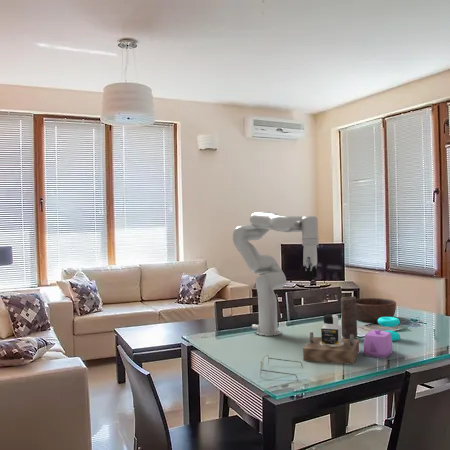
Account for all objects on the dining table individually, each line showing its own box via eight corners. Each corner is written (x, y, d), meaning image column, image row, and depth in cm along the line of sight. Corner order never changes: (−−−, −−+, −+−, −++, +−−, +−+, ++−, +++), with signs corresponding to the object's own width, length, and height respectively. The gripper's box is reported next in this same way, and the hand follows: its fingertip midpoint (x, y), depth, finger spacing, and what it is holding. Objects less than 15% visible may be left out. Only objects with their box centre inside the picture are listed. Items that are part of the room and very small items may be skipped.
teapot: (384, 361, 189) (384, 335, 189) (359, 357, 195) (358, 333, 195) (396, 350, 204) (395, 326, 204) (371, 347, 210) (371, 324, 210)
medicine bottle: (321, 344, 197) (320, 316, 197) (325, 340, 204) (324, 312, 204) (338, 345, 194) (337, 316, 194) (341, 341, 201) (340, 313, 201)
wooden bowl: (348, 315, 284) (348, 298, 284) (391, 314, 281) (390, 297, 281) (354, 323, 259) (353, 305, 259) (401, 323, 256) (400, 304, 256)
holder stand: (303, 360, 193) (302, 337, 193) (313, 347, 212) (312, 327, 212) (353, 364, 186) (352, 340, 186) (359, 351, 204) (358, 329, 204)
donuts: (396, 321, 216) (374, 319, 222) (397, 342, 216) (375, 340, 222) (402, 317, 224) (381, 315, 230) (402, 338, 224) (381, 335, 230)
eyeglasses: (265, 365, 189) (264, 353, 189) (302, 367, 185) (302, 355, 185) (257, 378, 174) (256, 365, 174) (297, 380, 170) (297, 367, 170)
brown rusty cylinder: (358, 340, 223) (356, 298, 223) (342, 340, 224) (340, 298, 224) (356, 336, 230) (355, 295, 230) (341, 336, 232) (340, 295, 232)
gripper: (306, 241, 231) (307, 276, 231) (298, 243, 215) (299, 280, 215) (321, 241, 229) (322, 276, 229) (314, 243, 213) (315, 280, 213)
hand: (311, 278), depth 222 cm, fingers open, 9 cm apart
